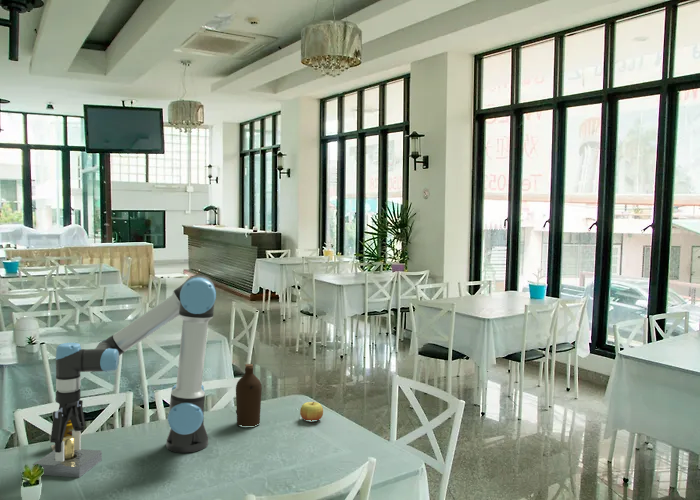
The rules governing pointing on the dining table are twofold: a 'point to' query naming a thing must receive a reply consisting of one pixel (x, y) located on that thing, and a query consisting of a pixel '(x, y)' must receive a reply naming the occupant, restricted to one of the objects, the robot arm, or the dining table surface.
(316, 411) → the apple
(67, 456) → the yellow cylinder
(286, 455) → the dining table surface
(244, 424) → the olive oil
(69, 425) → the condiment
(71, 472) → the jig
